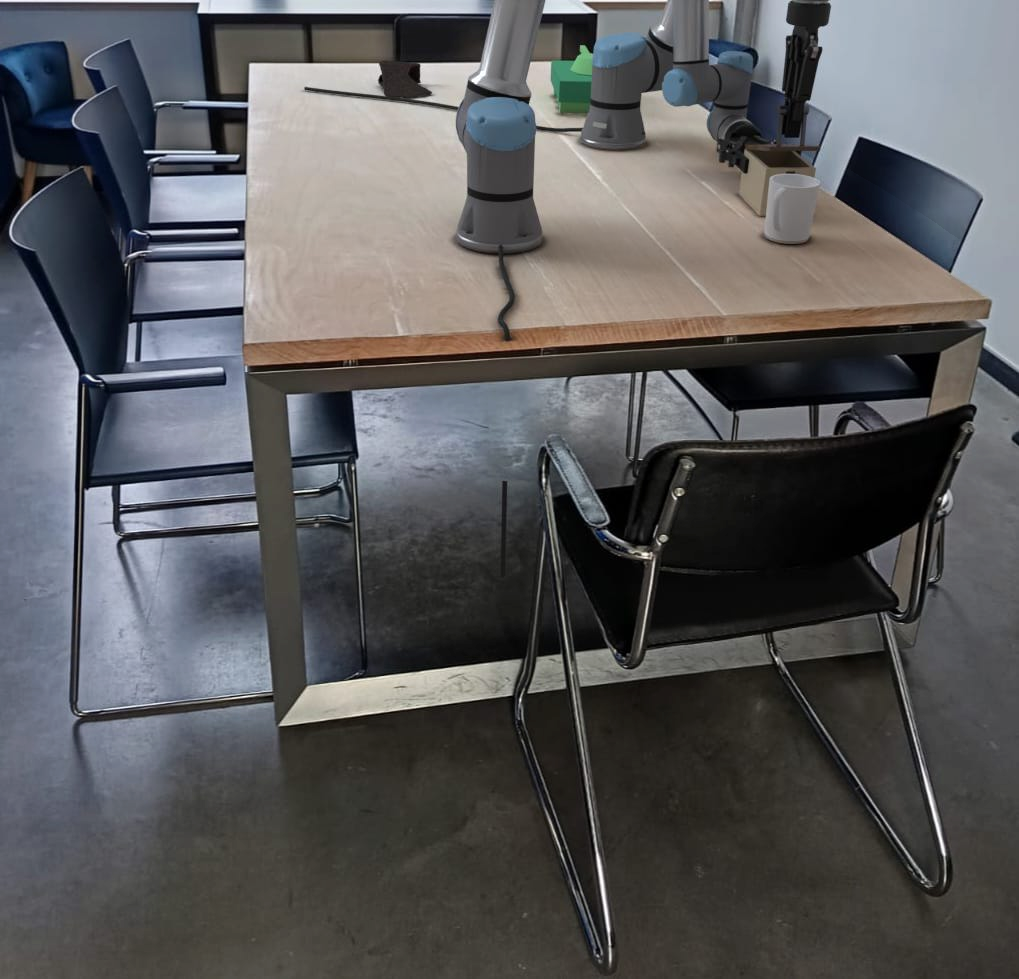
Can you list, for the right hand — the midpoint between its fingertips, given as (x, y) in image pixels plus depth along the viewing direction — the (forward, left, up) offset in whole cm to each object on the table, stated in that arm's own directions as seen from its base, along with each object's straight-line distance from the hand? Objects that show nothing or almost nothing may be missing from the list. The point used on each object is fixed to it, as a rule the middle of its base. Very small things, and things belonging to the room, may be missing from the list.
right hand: (772, 166), depth 217 cm
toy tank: (-90, +18, -7) cm, 92 cm away
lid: (+3, -2, +4) cm, 6 cm away
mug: (+20, -14, -7) cm, 25 cm away
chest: (+3, -1, -7) cm, 7 cm away
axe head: (-123, -20, -7) cm, 125 cm away
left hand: (+6, -3, +8) cm, 10 cm away
